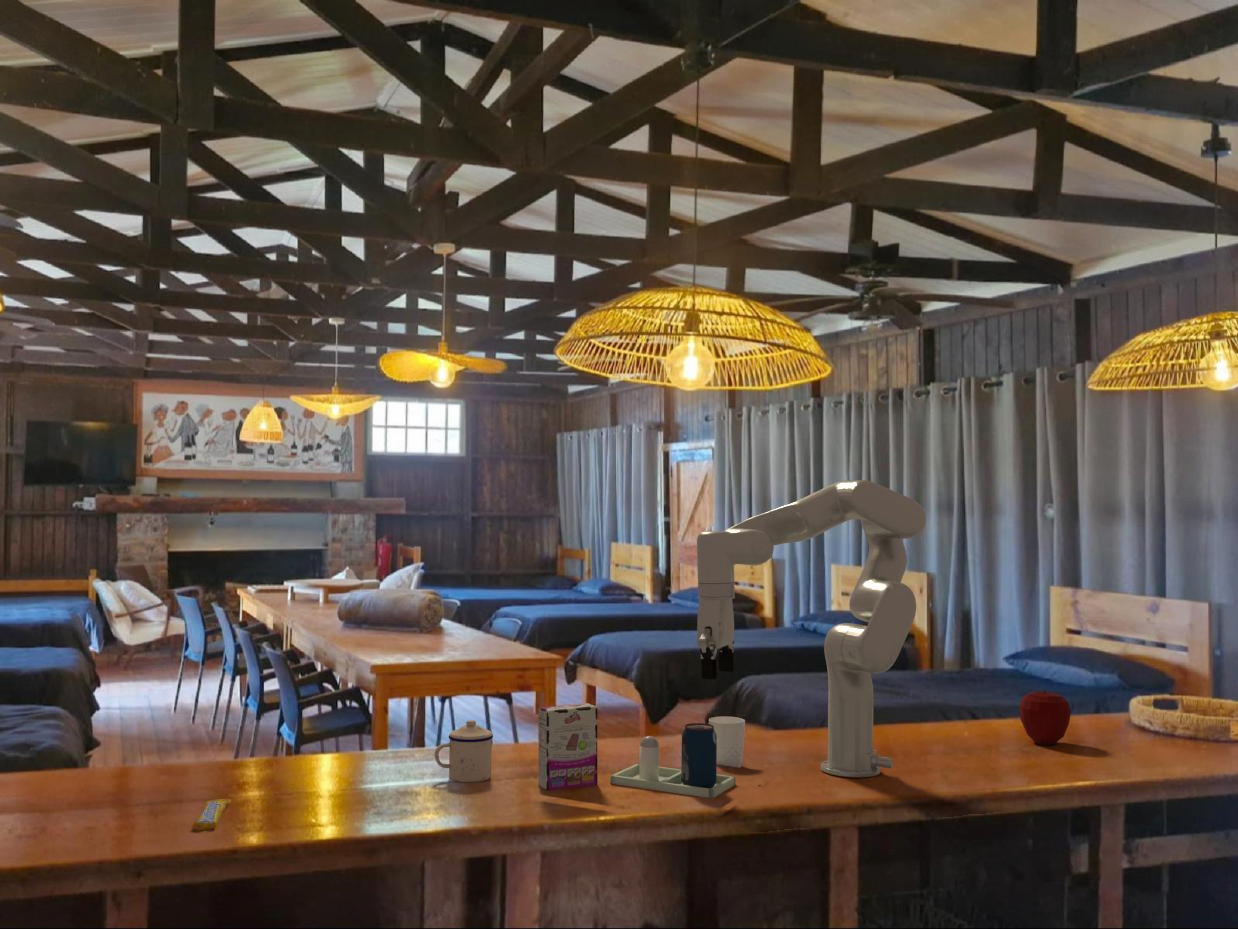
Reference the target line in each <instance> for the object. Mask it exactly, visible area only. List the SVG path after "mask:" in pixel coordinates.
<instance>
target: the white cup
mask: <svg viewBox="0 0 1238 929" xmlns="http://www.w3.org/2000/svg"><path fill="white" fill-rule="evenodd" d="M708 724H710V725H713V726H714V731H715V733H716V735H717V766H725V767H732V768H742V767H743V756H744V747H745V746H744V744H745V730H746V729H745V728H746V720H745V719H743V718H741V717H735V716H725V715H724V716H723V715H722V716H714V717H710V718H709V719H708Z"/></svg>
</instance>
